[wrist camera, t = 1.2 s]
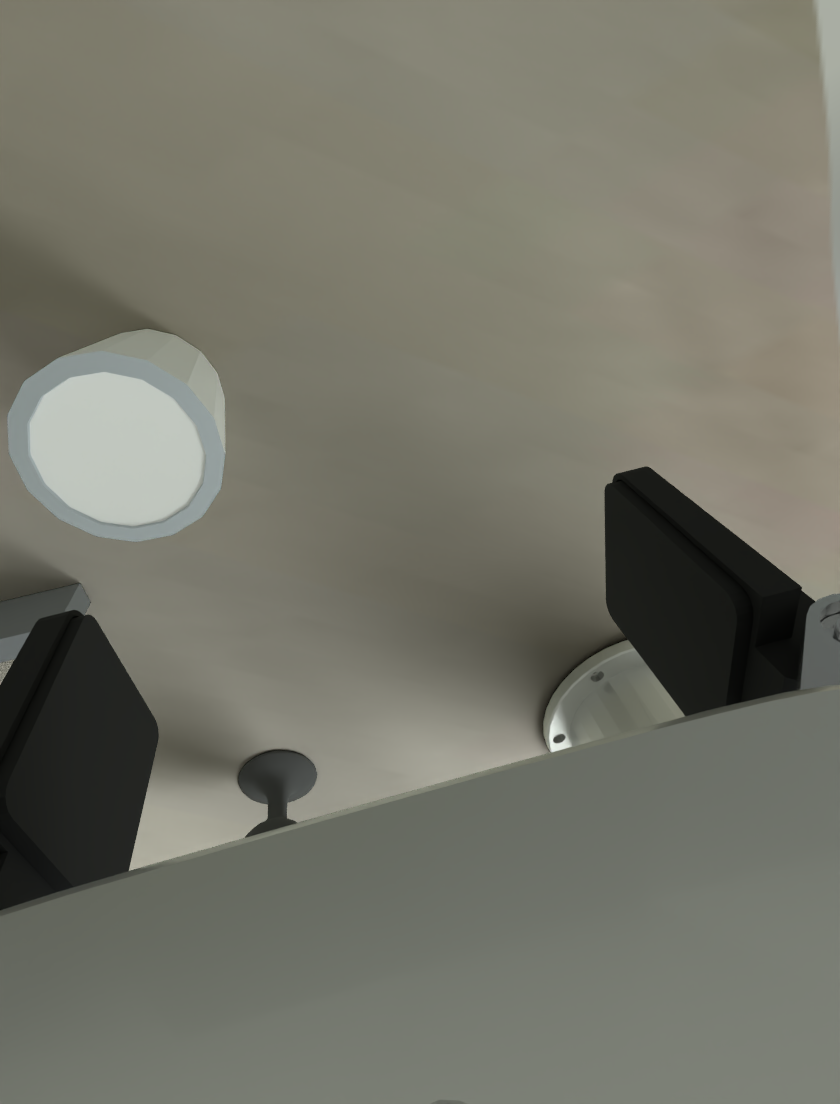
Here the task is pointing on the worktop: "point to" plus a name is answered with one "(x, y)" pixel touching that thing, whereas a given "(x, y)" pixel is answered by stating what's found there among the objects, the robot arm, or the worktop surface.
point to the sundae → (276, 784)
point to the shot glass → (122, 436)
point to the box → (35, 615)
